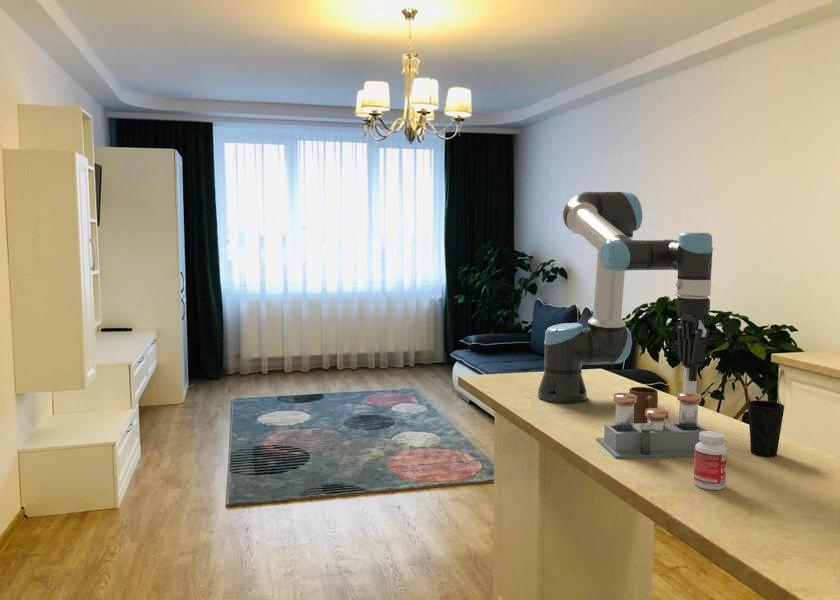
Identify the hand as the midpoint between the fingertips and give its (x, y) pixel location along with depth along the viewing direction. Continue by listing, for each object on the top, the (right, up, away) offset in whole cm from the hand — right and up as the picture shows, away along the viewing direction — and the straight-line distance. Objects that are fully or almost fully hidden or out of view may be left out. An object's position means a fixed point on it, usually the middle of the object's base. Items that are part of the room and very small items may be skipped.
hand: (689, 393), depth 168 cm
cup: (+16, -14, -3) cm, 22 cm away
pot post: (-13, -14, -5) cm, 19 cm away
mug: (-4, -12, +20) cm, 24 cm away
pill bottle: (-5, -16, -24) cm, 29 cm away
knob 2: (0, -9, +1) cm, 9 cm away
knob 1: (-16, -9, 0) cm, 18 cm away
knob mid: (-8, -13, +1) cm, 15 cm away
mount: (-8, -14, +1) cm, 16 cm away
